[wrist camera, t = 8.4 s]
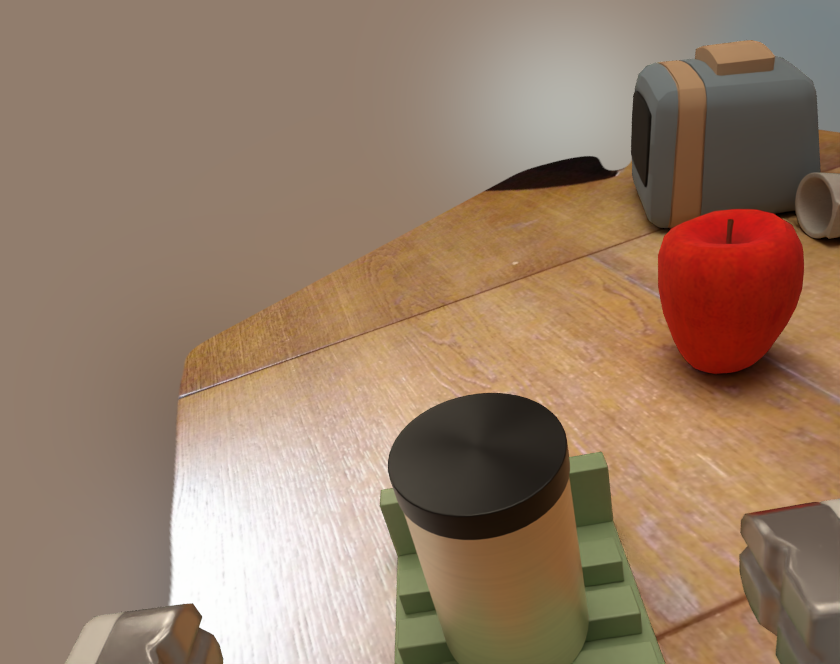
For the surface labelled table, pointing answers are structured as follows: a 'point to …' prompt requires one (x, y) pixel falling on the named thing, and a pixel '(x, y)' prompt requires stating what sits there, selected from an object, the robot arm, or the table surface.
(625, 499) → the table surface
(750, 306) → the apple
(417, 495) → the travel mug
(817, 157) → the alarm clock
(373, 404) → the table surface
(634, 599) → the drying rack
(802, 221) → the long tapered cone
